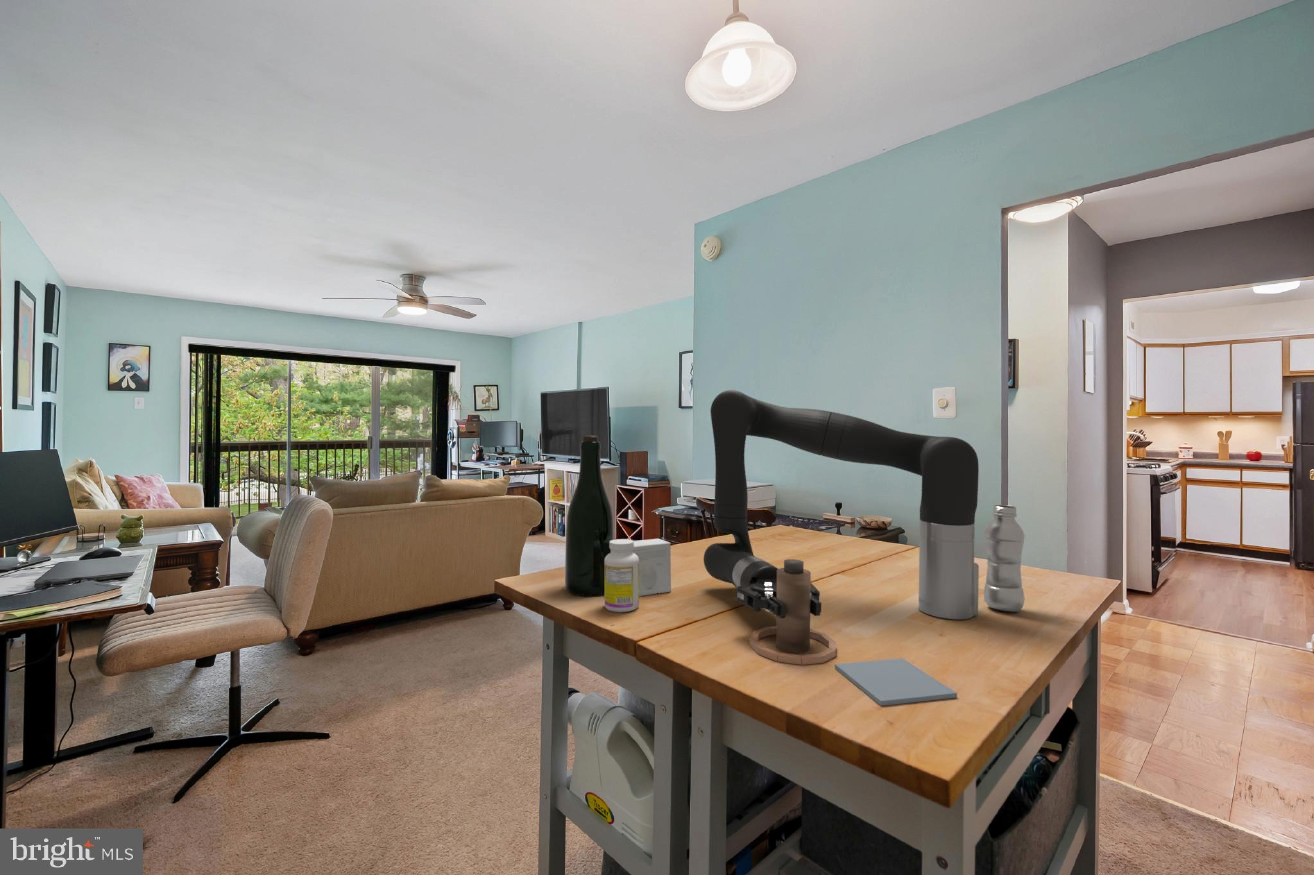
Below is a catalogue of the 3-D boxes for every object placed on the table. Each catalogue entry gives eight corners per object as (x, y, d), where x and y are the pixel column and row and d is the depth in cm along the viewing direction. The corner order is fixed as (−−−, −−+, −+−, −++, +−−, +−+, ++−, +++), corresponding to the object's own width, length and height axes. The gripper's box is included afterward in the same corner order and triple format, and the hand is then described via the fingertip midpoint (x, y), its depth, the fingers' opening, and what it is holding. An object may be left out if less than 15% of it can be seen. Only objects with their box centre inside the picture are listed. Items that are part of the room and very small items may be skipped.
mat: (902, 662, 82) (902, 658, 82) (957, 697, 71) (957, 692, 71) (834, 668, 80) (834, 664, 80) (880, 705, 69) (880, 700, 69)
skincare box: (658, 584, 122) (658, 537, 122) (671, 592, 116) (672, 542, 116) (614, 590, 118) (614, 541, 118) (625, 598, 112) (626, 547, 112)
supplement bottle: (619, 600, 111) (619, 536, 110) (645, 606, 107) (646, 540, 107) (596, 608, 105) (597, 541, 105) (623, 615, 101) (624, 546, 101)
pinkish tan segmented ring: (810, 629, 95) (810, 623, 95) (852, 660, 82) (852, 653, 82) (739, 634, 92) (739, 628, 92) (771, 667, 80) (771, 660, 80)
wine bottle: (593, 600, 111) (594, 435, 110) (554, 591, 116) (555, 435, 116) (624, 587, 119) (624, 435, 119) (586, 580, 125) (587, 434, 124)
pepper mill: (800, 639, 90) (801, 556, 90) (815, 651, 85) (816, 564, 85) (770, 641, 89) (771, 558, 89) (784, 654, 84) (785, 566, 84)
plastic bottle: (1025, 617, 101) (1026, 509, 101) (982, 611, 105) (984, 506, 105) (1023, 608, 107) (1025, 505, 107) (983, 602, 111) (984, 503, 110)
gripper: (721, 562, 100) (757, 588, 83) (794, 558, 103) (843, 583, 86) (721, 603, 100) (757, 638, 83) (794, 598, 103) (843, 631, 86)
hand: (800, 610), depth 85 cm, fingers closed on pepper mill, 5 cm apart
